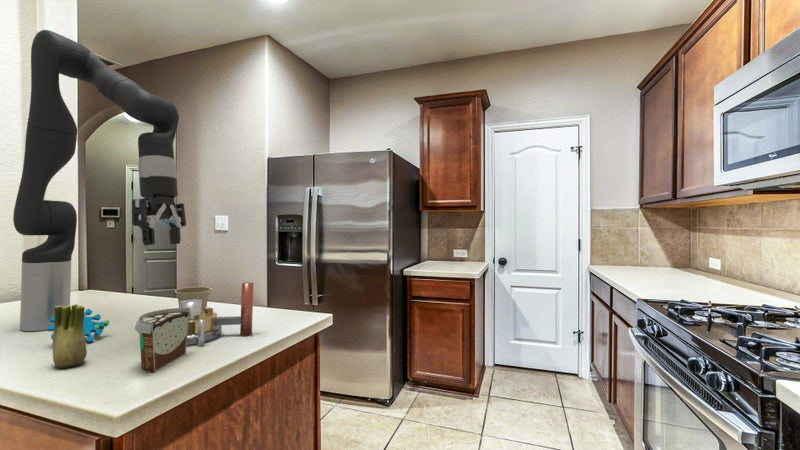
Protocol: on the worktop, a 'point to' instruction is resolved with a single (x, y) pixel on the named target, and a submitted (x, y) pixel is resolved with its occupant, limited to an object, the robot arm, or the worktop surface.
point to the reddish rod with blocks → (242, 320)
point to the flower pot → (194, 294)
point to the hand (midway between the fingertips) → (163, 244)
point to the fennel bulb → (69, 336)
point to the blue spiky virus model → (87, 325)
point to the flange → (199, 325)
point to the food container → (162, 337)
